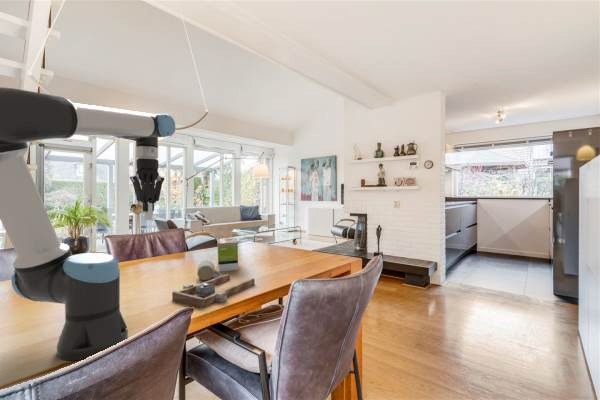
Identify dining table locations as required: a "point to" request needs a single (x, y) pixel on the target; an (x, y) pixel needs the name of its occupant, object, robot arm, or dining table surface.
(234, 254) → the tea box
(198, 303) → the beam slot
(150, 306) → the dining table surface
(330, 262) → the dining table surface
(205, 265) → the ceramic mug
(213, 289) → the rider
